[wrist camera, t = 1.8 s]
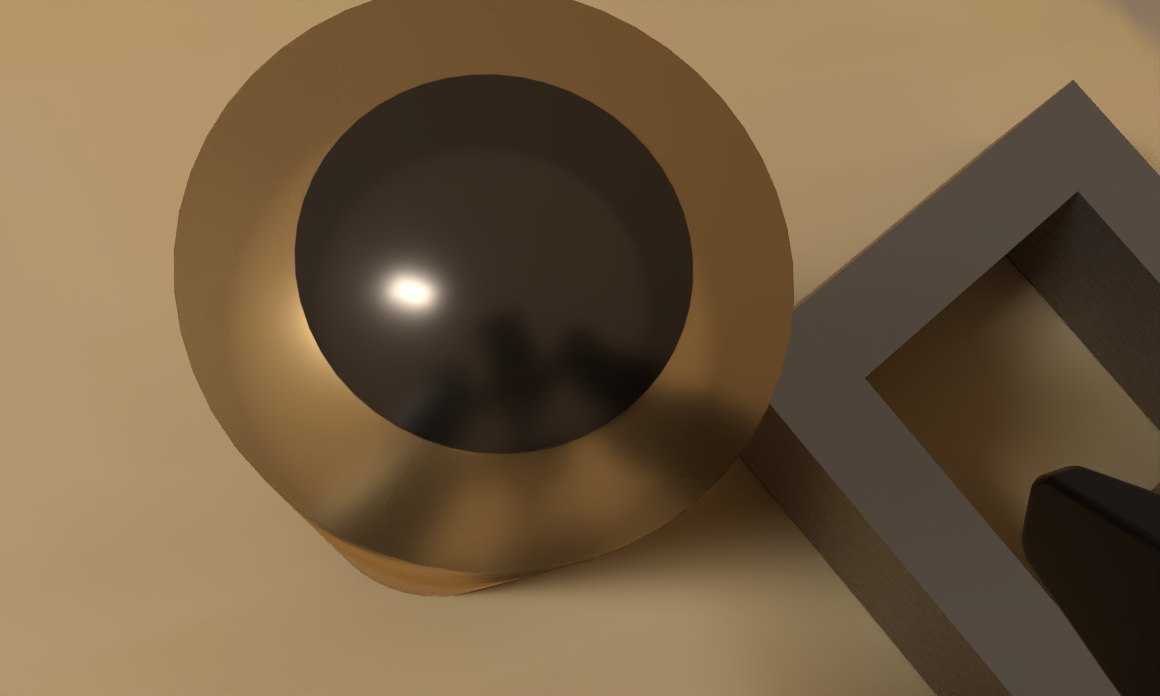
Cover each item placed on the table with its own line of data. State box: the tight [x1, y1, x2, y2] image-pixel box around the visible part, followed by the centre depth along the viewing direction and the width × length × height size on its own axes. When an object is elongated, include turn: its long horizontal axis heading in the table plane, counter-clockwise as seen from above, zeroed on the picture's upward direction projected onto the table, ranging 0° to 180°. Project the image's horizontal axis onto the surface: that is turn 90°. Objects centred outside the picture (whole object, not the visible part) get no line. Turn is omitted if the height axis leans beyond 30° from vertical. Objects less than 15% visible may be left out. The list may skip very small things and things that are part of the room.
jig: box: [739, 80, 1160, 696], centre depth 21 cm, size 14×10×3 cm
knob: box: [174, 0, 794, 596], centre depth 14 cm, size 5×5×13 cm
